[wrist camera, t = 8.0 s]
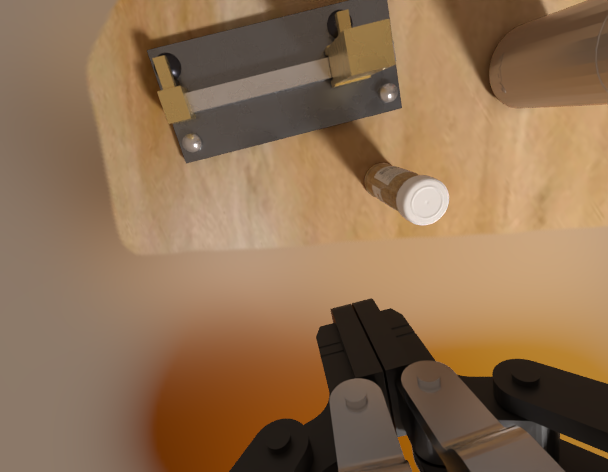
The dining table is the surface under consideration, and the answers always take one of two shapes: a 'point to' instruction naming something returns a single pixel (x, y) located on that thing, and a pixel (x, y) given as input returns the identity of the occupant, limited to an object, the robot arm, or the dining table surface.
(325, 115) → the metal base plate
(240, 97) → the beam
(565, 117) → the dining table surface
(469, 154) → the dining table surface
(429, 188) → the sprinkles bottle
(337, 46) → the block
